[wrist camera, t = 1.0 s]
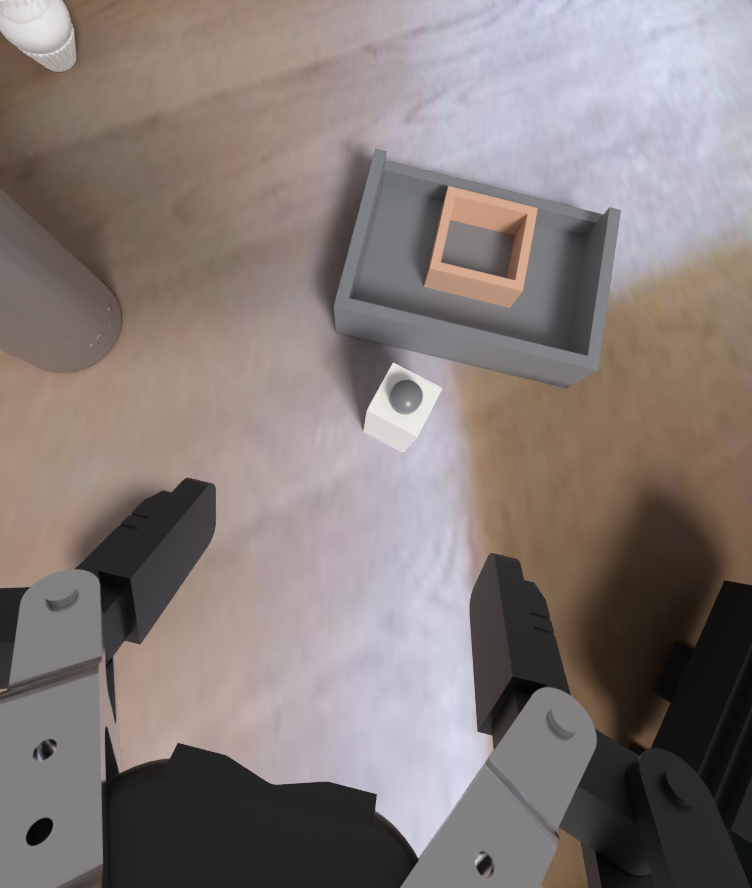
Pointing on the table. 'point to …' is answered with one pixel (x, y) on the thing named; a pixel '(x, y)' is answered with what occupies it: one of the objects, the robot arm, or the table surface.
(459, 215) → the walled box
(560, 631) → the table surface
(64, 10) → the white lidded jar
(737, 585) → the security camera
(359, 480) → the table surface
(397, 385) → the plug
